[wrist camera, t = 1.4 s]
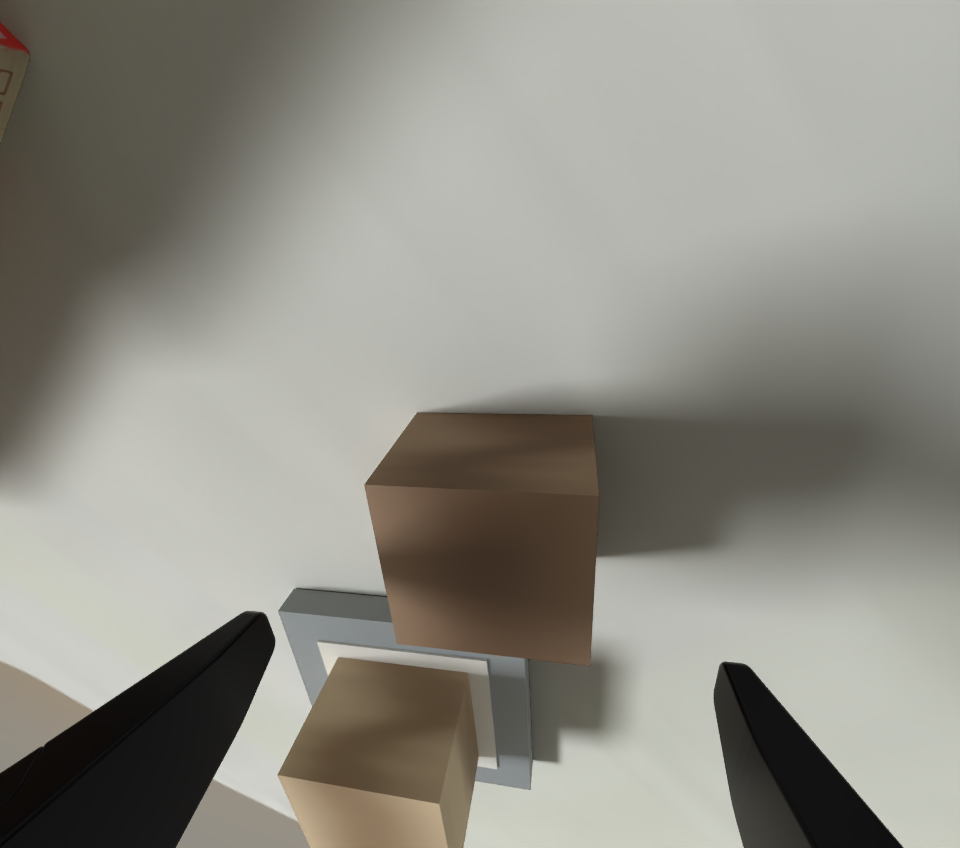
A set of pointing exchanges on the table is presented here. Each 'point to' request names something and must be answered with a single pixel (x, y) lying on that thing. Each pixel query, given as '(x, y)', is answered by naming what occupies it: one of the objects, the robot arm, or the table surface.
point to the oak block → (385, 758)
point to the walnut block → (490, 534)
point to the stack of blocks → (10, 73)
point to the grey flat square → (370, 636)
